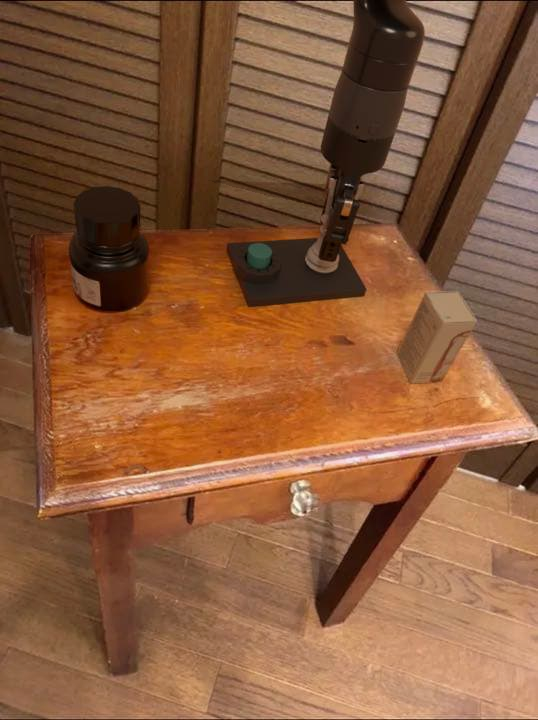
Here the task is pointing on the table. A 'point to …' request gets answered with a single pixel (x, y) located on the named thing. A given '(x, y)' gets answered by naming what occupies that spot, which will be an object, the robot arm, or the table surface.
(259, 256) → the button
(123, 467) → the table surface
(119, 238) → the ink bottle
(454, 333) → the beige upright block
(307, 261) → the rook chess piece
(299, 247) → the black kitchen scale
